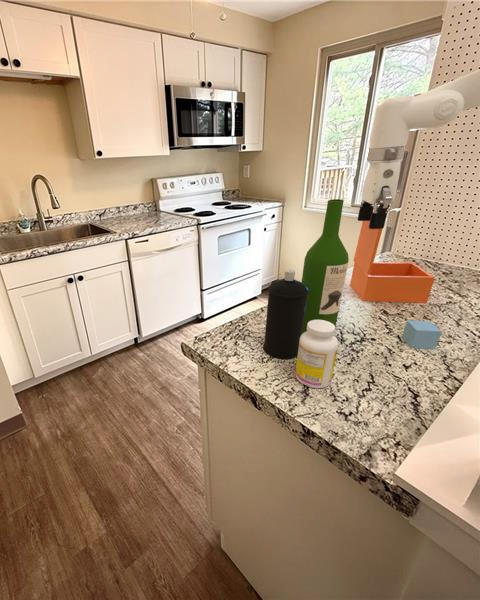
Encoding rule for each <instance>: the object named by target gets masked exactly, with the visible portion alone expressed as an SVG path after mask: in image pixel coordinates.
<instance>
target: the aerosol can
mask: <svg viewBox="0 0 480 600" xmlns="http://www.w3.org/2000/svg"><path fill="white" fill-rule="evenodd" d="M295 275H296V271H295V270H294V269H285V270H284V278H280V279H277V280H275V281H274V282H272V283H270V284H269V285H268V286H267V291H268V296H267V307H266V308H267V309H266V320H265V332H264V343H263V344H262V349H263V351H264V352H265V353H266V354H267V355H269V356H270V357H273V358H276V359H280V360H291V359H295V358H297V357H298V349H299V341H300V337H301V334H302V327H303V320H304V313H305V307H306V300H307V295H308V293H309V289H308V288H307V287H306V286H305V285H304V284H303V283H302V281H299V280H297V279H295V278H296V277H295Z"/></svg>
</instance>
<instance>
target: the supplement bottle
mask: <svg viewBox="0 0 480 600" xmlns="http://www.w3.org/2000/svg"><path fill="white" fill-rule="evenodd" d="M335 333H336V327H335V326H334V324H332V323H330V322H328V321H325V320H311V321H309V322H308V324H307V331H306V332H304V333H303V334H302V335H301V337H300V341H299V349H298V356H297V357H296V365H295V372H294V373H295V378H296V379H297V380H298V381H299V382H300V384H302V385H305V386H306V387H309V388H312V389H324V388H327V387H328V386H330V385H331V383H332V380H333V376H334V370H335V365H336V360H337V356H338V349H339V341H338V338H337V337H336V336H335Z"/></svg>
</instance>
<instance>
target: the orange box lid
mask: <svg viewBox="0 0 480 600" xmlns="http://www.w3.org/2000/svg"><path fill="white" fill-rule="evenodd" d="M373 213H374V209H373ZM369 223H370V221H361V227H360V232H359V235H358V238H357V239H358V240H357V245H356V248H355V253H354V256H353V262H354V263H356V264H357V265H358V266H359V267H360V268H361V269H362V270H363V271H364V272H365V273H366V274H367V275H370V274H371V270H372V267H373V263H374V262H375V258H376V256H377V251H378V247H379V245H380V241H381V235H382V232H383V229H369Z"/></svg>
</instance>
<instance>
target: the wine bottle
mask: <svg viewBox="0 0 480 600" xmlns="http://www.w3.org/2000/svg"><path fill="white" fill-rule="evenodd" d="M344 203H345V200H344V199H341V198H339V199H338V198H335V199H334V198H333V199H328V200H327V203H326V209H325V210H326V211H325V216H324V220H323V221H324V222H323V227H322V233H321V235H320V236H319V238H318V239H317V240H316V241H315V242H314V243H313V245H311V247H310V248H309V249H308V250H307V251H306V254H305V256H304V259H303V260H304V261H303V268H302V274H301V275H302V276H301V282H302V283H303V284H304V285H305V286H306V287H307V288H308V289H309V293H308V295H307V300H306V307H305V313H304V320H303V327H302V334H303V333H304V332H306V331H307V324H308V322H309V321H311V320H325V321H328V322H330V323H332V324H334V326H335V328H337V327H336V326H337V321H338V316H339V312H340V307H341V302H342V297H343V291H344V286H345V282H346V276H347V273H348V272H347V271H348V267H349V261H350V259H349V253H348V251H347V249H346V247H345V245H344V243H343V242H342V240H341V238H340V234H339V233H340V226H341V220H342V213H343V208H344ZM302 334H301V335H302Z"/></svg>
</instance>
